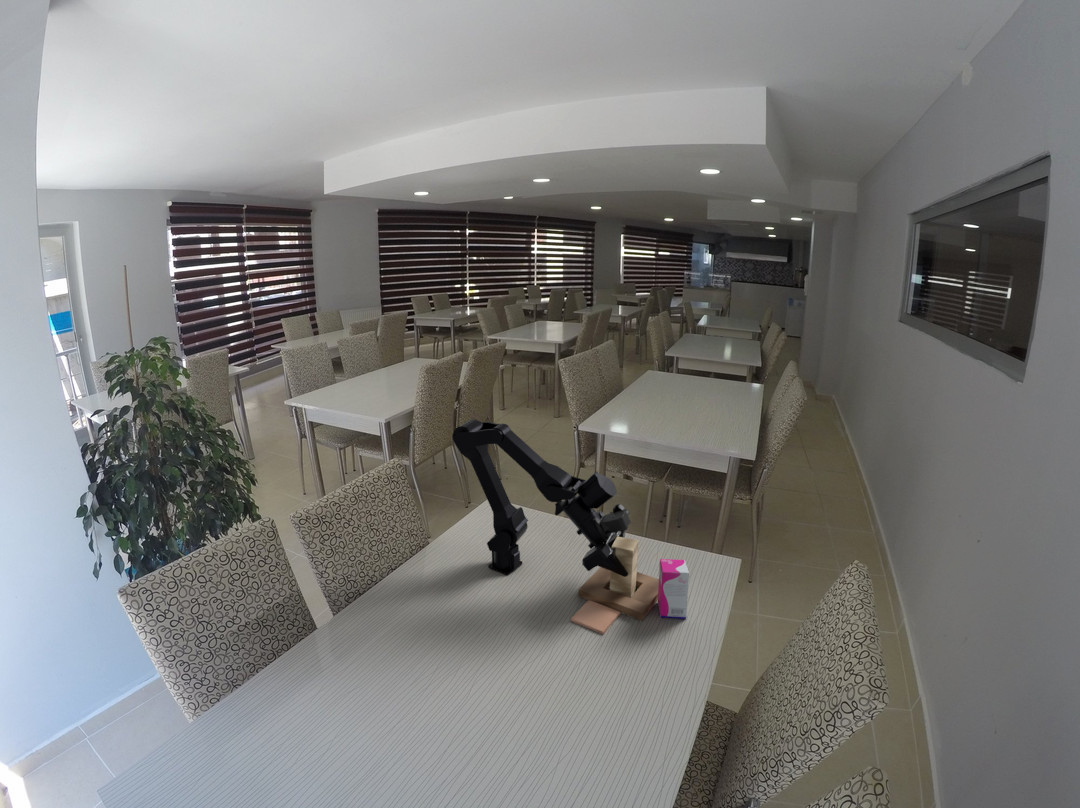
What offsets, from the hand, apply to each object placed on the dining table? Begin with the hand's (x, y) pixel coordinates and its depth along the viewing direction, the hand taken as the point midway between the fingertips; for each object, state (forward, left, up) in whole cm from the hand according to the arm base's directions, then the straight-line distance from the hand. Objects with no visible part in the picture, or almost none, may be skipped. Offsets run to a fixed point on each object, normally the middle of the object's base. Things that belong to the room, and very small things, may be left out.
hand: (629, 569), depth 132 cm
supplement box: (+11, 0, -7) cm, 13 cm away
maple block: (-1, 0, -7) cm, 7 cm away
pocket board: (-1, 0, -7) cm, 7 cm away
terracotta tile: (-2, -12, -7) cm, 14 cm away
